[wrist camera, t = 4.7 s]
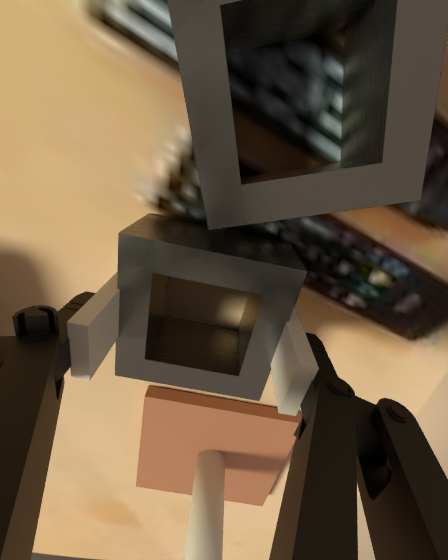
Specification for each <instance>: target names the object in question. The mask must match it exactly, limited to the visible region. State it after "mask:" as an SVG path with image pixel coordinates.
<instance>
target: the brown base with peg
mask: <svg viewBox="0 0 448 560" xmlns="http://www.w3.org/2000/svg"><path fill="white" fill-rule="evenodd" d="M301 419H302V415H301V412H298V413H297V415H296V416H292V415H287V414H281V413H278V408H274V407H268V406H262V405H257V404H251V403H245V402H240V401H234V400H228V399H223V398H217V397H211V396H206V395H200V394H194V393H189V392H183V391H177V390H171V389H166V388H160V387H154V386H148V389H147V392H146V394H145V398H144V408H143V419H142V429H141V440H140V450H139V461H138V471H137V481H136V486H137V487H143V488H149V489H156V490H162V491H169V492H175V493H181V494H188V495H192V499H191V507H190V514H189V522H188V530H187V538H186V545H185V553H184V560H222V547H223V518H224V500H226V501H232V502H239V503H245V504H251V505H258V506H263V504H264V502H265V500H266V498H267V496H268V494H269V492H270V490H271V488H272V486H273V484H274V482H275V480H276V478H277V476H278V474H279V472H280V470H281V468H282V466H283V464H284V462H285V460H286V458H287V456H288V454H289V452H290V450H291V448H292V446H293V444H294V442H295V440H296V437H295V436H294V433H295V431H296V429H297V427H298V425H299V423H300V421H301Z"/></svg>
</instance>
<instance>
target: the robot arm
mask: <svg viewBox="0 0 448 560" xmlns="http://www.w3.org/2000/svg"><path fill="white" fill-rule="evenodd" d="M117 278H118V272H117V273H116V274H115V275H114V276H113V277H112V278H111V279H110V280H109V281H108V282H107V283H106V284H105V285H104V286H103V287H102V288H101V289H100V290H99V291H98V292H97V293H92V292H84V293H81V294H79V295H77V296H75V297H74V298H73V299H72V300H70V301H69V303H67V304H66V305H65V306H64V307H63V308H61V309H60V310H59V311H58V312H57V310H56V309H54V308H52V307H49V306H31V307H28V308H24V309H22V310H20V311H18V312H16V313H15V315H14V316H13V323H14V328H15V333H16V336H2V337H0V560H31V555H32V550H33V544H34V539H35V534H36V529H37V524H38V518H39V513H40V508H41V503H42V497H43V492H44V487H45V482H46V477H47V471H48V466H49V461H50V456H51V451H52V445H53V440H54V435H55V430H56V424H57V419H58V414H59V409H60V404H61V398H62V393H63V388H64V374H65V373H66V372H67V370H68V369H69V368H71V377H74V378H80V379H85V380H91V378H92V377H93V375H94V374H95V372H96V370H97V369H98V367H99V366H100V364H101V363H102V361H103V360H104V358H105V357H106V355H107V353H108V352H109V350H110V349H111V347H112V346H113V344H114V343H115V341H116V339H117V338H118V331H119V297H120V289H117ZM271 370H272V377H273V383H274V389H275V395H276V401H277V407H278V413H281V414H287V415H292V416H296V415H297V413H298V411H299V409H300V407H301V410H302V414H303V417H302V419H301V421H300V423H299V425H298V427H297V429H296V431H295V433H294V436H295V437H296V440H295V444H294V449H293V453H292V458H291V462H290V467H289V472H288V476H287V481H286V485H285V490H284V494H283V499H282V503H281V508H280V512H279V517H278V522H277V526H276V531H275V535H274V540H273V544H272V549H271V553H270V558H269V560H358V540H357V538H358V537H357V484H358V488H359V492H360V496H361V500H362V505H363V509H364V513H365V517H366V521H367V526H368V530H369V534H370V538H371V542H372V547H373V551H374V555H375V559H376V560H448V479H447V477H446V475H445V473H444V471H443V470H442V468H441V466H440V464H439V462H438V460H437V458H436V456H435V455H434V452H433V451H432V449H431V447H430V445H429V443H428V441H427V439H426V437H425V435H424V434H423V432H422V430H421V428H420V426H419V424H418V422H417V421H416V419H415V417H414V416H413V414H412V413H411V412H410V411H409V410H408V409H407V408H406V407H404V406H403V405H401V404H400V403H398V402H396V401H394V400H392V399H387V398H383V399H380V400H379V401H378V403H377V404H376V405H375V404H373V403H370V402H368V401H366V400H364V399H361V398H359V397H357V396H355V393H354V391H353V389H352V388H351V386H350V385H349V384H347V383H346V382H345V381H344V380H342V379H340V378H339V377H338V376H337V374H336V371H335V369H334V367H333V365H332V363H331V361H330V358H329V357H328V354H327V352H326V351H325V347H324V345H323V343H322V341H321V340H320V339H319V338H318V337H317V336H316V335H315V334H310V333H305V331H304V329H303V326H302V324H301V321H300V318H299V316H298V313H297V311H296V308H295V306H294V309H293V312H292V314H291V317H290V320H289V322H286V324H285V327H284V329H283V332H282V335H281V338H280V340H279V343H278V346H277V348H276V351H275V354H274V357H273V359H272V362H271Z"/></svg>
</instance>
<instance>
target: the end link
mask: <svg viewBox="0 0 448 560" xmlns="http://www.w3.org/2000/svg"><path fill="white" fill-rule="evenodd" d="M306 274H307V270H306V268H305V267H304V265H303V263H302V262H301V260H300V259H299V257H298V256H297V254H296V252H295V251H294V249H293V248H292V246H291V244H290V243H286V242H281V241H277V240H272V239H267V238H262V237H258V236H253V235H248V234H243V233H238V232H234V231H229V230H224V229H213V230H208V226H205V225H200V224H195V223H191V222H186V221H181V220H176V219H171V218H167V217H162V216H157V215H152V214H147V215H146V216H144V217H142V218H141V219H139V220H138V221H136V222H135V223H133V224H132V225H130V226H128V227H127V228H125V229H124V230H122V231H121V232H119V238H118V278H117V289H120V297H119V331H118V338H117V339H116V356H115V375H116V376H122V377H128V378H133V379H139V380H144V381H150V382H156V383H161V384H167V385H172V386H178V387H184V388H189V389H195V390H201V391H206V392H212V393H217V394H223V395H229V396H234V397H240V398H245V399H251V400H257V401H259V400H260V398H261V395H262V392H263V390H264V387H265V384H266V382H267V379H268V376H269V374H270V371H271V362H272V359H273V357H274V354H275V351H276V348H277V346H278V343H279V340H280V338H281V335H282V332H283V329H284V327H285V324H286V322H289V320H290V317H291V314H292V312H293V309H294V306H295V304H296V301H297V298H298V296H299V293H300V290H301V288H302V285H303V282H304V280H305V277H306ZM169 276H170V277H175V278H180V279H185V280H190V281H195V282H201V283H206V284H211V285H216V286H221V287H226V288H231V289H236V290H241V291H246V292H249V293H248V297H247V301H246V304H245V308H244V312H243V315H242V319H241V323H240V326H239V330H238V331H237V330H232V329H226V328H221V327H216V326H211V325H205V324H200V323H195V322H190V321H184V320H179V319H174V318H169V317H164V311H165V303H166V295H167V286H168V278H169Z"/></svg>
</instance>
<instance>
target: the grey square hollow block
mask: <svg viewBox="0 0 448 560" xmlns="http://www.w3.org/2000/svg"><path fill="white" fill-rule="evenodd" d="M167 1H168V7H169V12H170V18H171V24H172V29H173V35H174V40H175V46H176V51H177V57H178V63H179V68H180V74H181V79H182V85H183V90H184V96H185V102H186V107H187V113H188V118H189V124H190V129H191V135H192V141H193V146H194V152H195V157H196V163H197V168H198V174H199V180H200V185H201V191H202V196H203V202H204V207H205V213H206V218H207V224H208V230H213V229H220V228H227V227H234V226H241V225H248V224H255V223H262V222H269V221H276V220H283V219H290V218H297V217H304V216H312V215H319V214H326V213H333V212H340V211H347V210H354V209H361V208H368V207H375V206H382V205H389V204H396V203H404V202H411V201H418V200H421V194H422V188H423V181H424V175H425V169H426V163H427V156H428V150H429V144H430V138H431V131H432V125H433V119H434V113H435V106H436V100H437V94H438V88H439V81H440V75H441V69H442V63H443V56H444V50H445V44H446V38H447V31H448V0H167ZM340 30H345V47H344V77H343V107H342V137H341V161H340V162H334V163H328V164H321V165H315V166H309V167H303V168H296V169H290V170H284V171H278V172H271V173H265V174H259V175H253V176H246V177H240V171H239V163H238V154H237V146H236V137H235V129H234V120H233V112H232V103H231V95H230V86H229V78H228V69H227V61H226V54H230V53H235V52H239V51H244V50H249V49H254V48H258V47H263V46H268V45H273V44H278V43H282V42H287V41H292V40H297V39H302V38H306V37H311V36H316V35H321V34H325V33H330V32H335V31H340Z"/></svg>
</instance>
